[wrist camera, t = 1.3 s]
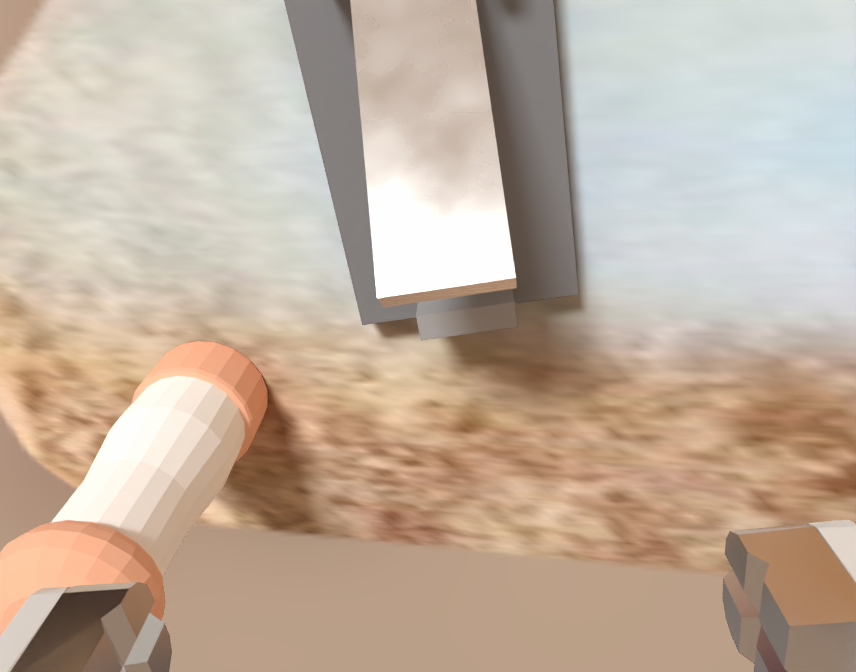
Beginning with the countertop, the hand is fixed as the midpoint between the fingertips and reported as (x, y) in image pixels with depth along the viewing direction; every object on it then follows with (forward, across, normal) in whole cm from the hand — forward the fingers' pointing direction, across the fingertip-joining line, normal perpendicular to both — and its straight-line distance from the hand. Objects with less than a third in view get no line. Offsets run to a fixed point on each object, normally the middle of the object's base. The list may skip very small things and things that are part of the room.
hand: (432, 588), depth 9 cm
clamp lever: (+22, 0, -4) cm, 22 cm away
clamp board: (+29, 0, -2) cm, 29 cm away
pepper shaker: (+30, +16, +12) cm, 36 cm away
